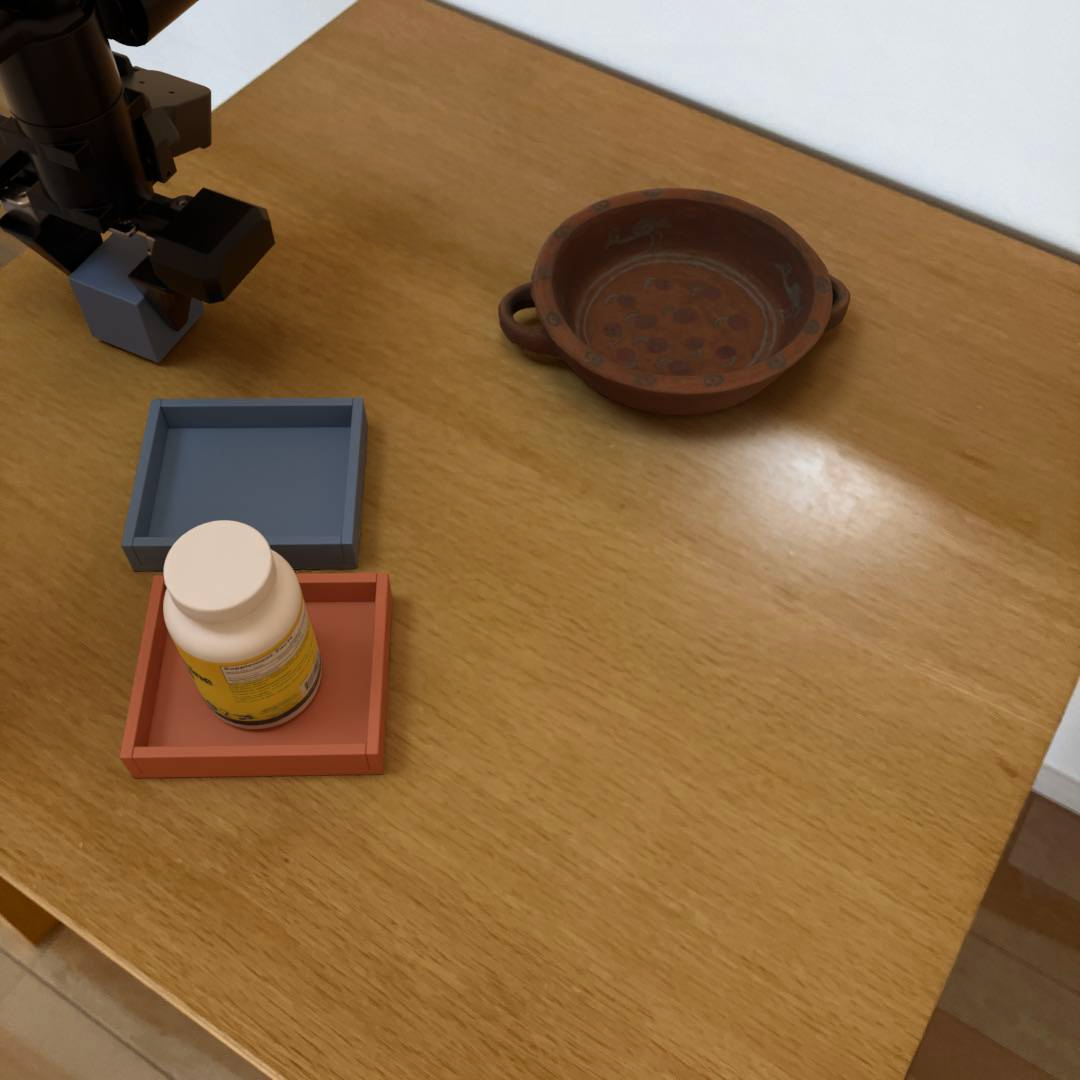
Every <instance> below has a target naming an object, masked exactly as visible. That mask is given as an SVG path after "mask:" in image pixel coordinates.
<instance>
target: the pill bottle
mask: <svg viewBox="0 0 1080 1080" xmlns="http://www.w3.org/2000/svg"><path fill="white" fill-rule="evenodd" d="M296 574H297V573H296V572H295V569H292V567H291V566H290V565H289V563H288V562H287V561H286V560H285V559H284V558H283V557H282V556H280V555H279V554H278V553H276V552H275V551H273V550H271V549H270V546H269V544H268V542H267V541H266V539H265V538H264V537H263V536H262V535H261V534H260V533H259V532H258V531H257V530H256V529H254V528H253V527H251V526H249V525H246V524H244V523H241V522H237V521H230V520H220V521H212V522H208V523H205V524H202V525H199V526H197V527H195V528H193V529H191V530H189V531H188V532H186V533H185V534H184V535H182V536H181V537H180V538H179V539H178V540H177V541H176V542H175V543H174V545H173V546H172V548H171V549H170V551H169V553H168V555H167V557H166V560H165V564H164V570H163V575H164V581H165V585H166V587H167V589H166V592H165V597H164V603H163V613H164V620H165V623H166V627H167V629H168V632H169V634H170V636H171V638H172V640H173V642H174V643H175V645H176V647H177V649H178V651H179V653H180V655H181V657H182V659H183V661H184V663H185V665H186V667H187V669H188V671H189V673H190V674H191V676H192V678H193V680H194V682H195V684H196V686H197V688H198V690H199V692H200V694H201V696H202V698H203V699H204V701H205V703H206V705H207V706H208V707H209V709H210V710H211V711H212V712H213V713H214V714H215V715H216V716H217V717H218V718H219V719H221V720H223V721H224V722H226V723H228V724H230V725H233V726H236V727H239V728H244V729H264V728H270V727H274V726H277V725H280V724H282V723H285V722H287V721H289V720H290V719H292V718H294V717H295V716H296V715H298V714H299V713H300V712H302V711H303V710H304V709H305V708H306V707H307V706H308V704H309V703H310V702H311V701H312V699H313V697H314V696H315V694H316V692H317V689H318V687H319V684H320V680H321V675H322V662H321V657H320V652H319V648H318V645H317V642H316V638H315V635H314V632H313V628H312V625H311V622H310V619H309V615H308V612H307V608H306V605H305V601H304V598H303V594H302V591H301V588H300V585H299V582H298V579H297V576H296Z"/></svg>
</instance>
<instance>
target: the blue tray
mask: <svg viewBox="0 0 1080 1080" xmlns="http://www.w3.org/2000/svg"><path fill="white" fill-rule="evenodd" d="M366 411H367V410H366V404H365V399H364V397H259V398H258V397H257V398H256V397H255V398H253V397H252V398H251V397H247V398H245V397H244V398H242V397H241V398H238V397H237V398H235V397H233V398H230V397H229V398H228V397H227V398H152V399H151V400H150V405H149V410H148V415H147V420H146V424H145V429H144V432H143V433H144V434H143V439H142V445H141V448H140V453H139V458H138V462H137V468H136V472H135V477H134V481H133V486H132V490H131V491H132V492H131V496H130V501H129V505H128V511H127V515H126V519H125V524H124V530H123V535H122V538H121V543H120V547H121V549H122V551H123V553H124V555H125V557H126V559H127V561H128V563H129V565H130V566H131V569H132V571H134V572H138V571H139V572H142V571H143V572H145V571H146V572H147V571H148V572H149V571H151V572H153V571H155V572H158V571H159V572H161V571H164V564H165V560H166V557H167V555H168V553H169V551H170V549H171V548H172V546H173V545H174V543H175V542H176V541H177V540H178V539H179V538H180V537H181V536H182V535H184V534H185V533H186V532H188V531H189V530H191V529H193V528H195V527H197V526H199V525H202V524H205V523H208V522H212V521H220V520H230V521H237V522H241V523H244V524H246V525H249V526H251V527H253V528H254V529H256V530H257V531H258V532H259V533H260V534H261V535H262V536H263V537H264V538H265V539H266V541H267V542H268V544H269V546H270V549H271V550H273V551H275V552H276V553H278V554H279V555H280V556H282V557H283V558H284V559H285V560H286V561H287V562H288V563H289V565H290V566H291V567H292V569H293V570H322V569H323V570H330V569H331V570H332V569H333V570H335V569H337V570H338V569H339V570H342V569H346V570H347V569H358V564H359V550H360V536H361V525H362V524H361V522H362V510H363V497H364V496H363V495H364V483H365V481H364V480H365V469H366V454H367V443H368V440H367V439H368V427H369V423H368V417H367V412H366Z"/></svg>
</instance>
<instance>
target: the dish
mask: <svg viewBox="0 0 1080 1080" xmlns="http://www.w3.org/2000/svg"><path fill="white" fill-rule="evenodd" d="M530 278H531V279H530V280H531V281H528V282H526V283H523V284H519V285H518V286H515V287H514V288H513V289H511V290H509V291H508V292H506V294H505V295H504V296H503V297H502V298H501V300H500V302H499V305H498V308H497V315H498V319H499V320H498V324H499V327H500V329H501V332H502V333H503V334H504V336H505V337H506V338H507V340H508V341H510V343H511V344H513V345H515V346H516V347H518V348H519V349H521V350H523V351H526V352H531V353H534V354H539V355H543V356H548V357H552V358H556V359H559V360H562V361H563V362H565V363H566V364H567V365H568V366H569V367H570V368H571V370H573V371H574V373H576V375H578V376H579V377H580V378H581V379H582V380H583V381H584V382H585V383H586V384H588V385H589V386H590V387H592V388H593V389H594V390H596V391H597V392H598V393H600V394H601V395H603V396H605V397H607V398H609V399H610V400H612V401H614V402H616V403H619V404H621V405H624V406H627V407H630V408H633V409H636V410H640V411H642V412H643V411H644V412H648V413H654V414H658V415H659V414H660V415H661V414H662V415H670V416H693V415H703V414H704V415H705V414H711V413H715V412H718V411H722V410H726V409H729V408H732V407H735V406H737V405H739V404H741V403H743V402H745V401H747V400H749V399H751V398H753V397H754V396H756V395H758V394H759V393H761V392H762V391H763V390H764V389H766V388H768V386H770V385H771V384H772V383H773V382H775V381H776V380H777V379H778V378H779V377H780V376H781V375H782V374H783V373H784V372H785V371H787V370H789V369H791V368H792V367H793V366H795V364H797V363H798V362H799V361H801V360H803V359H804V358H805V356H807V355H808V353H810V351H811V350H812V349H813V348H814V347H815V346H816V344H817V343H818V341H819V340H820V338H821V337H822V335H823V334H824V333H827V332H829V331H832V330H834V329H835V328H837V327H838V326H839V325H840V324H841V323H843V321H844V319H845V317H846V314H847V312H848V309H849V306H850V302H851V293H850V291H849V289H848V288H847V286H846V285H845V284H844V282H842V281H841V280H840V279H839V278H837V277H835V276H834V275H832V274H831V273H829V270H828V268H827V266H826V264H825V263H824V261H823V260H822V259H821V257H820V256H819V254H818V253H817V252H816V251H815V250H814V248H813V247H812V246H811V245H810V244H809V243H808V242H807V240H805V238H803V236H802V235H800V234H799V232H797V231H796V230H795V229H794V228H793V227H792V226H790V225H789V224H788V223H786V222H785V221H784V220H783V219H781V218H780V217H779V216H777V215H775V214H774V213H773V212H771V211H768V210H765V209H763V208H761V207H760V206H757V205H755V204H753V203H751V202H748V201H746V200H743V199H741V198H739V197H736V196H732V195H728V194H725V193H722V192H719V191H713V190H708V189H701V188H700V189H699V188H686V187H685V188H683V187H660V188H650V189H649V188H648V189H641V190H640V189H639V190H633V191H629V192H624V193H620V194H616V195H613V196H610V197H606V198H603V199H600V200H598V201H596V202H593V203H591V204H589V205H588V206H586V207H584V208H582V209H580V210H578V211H576V212H574V213H573V214H572V215H570V216H569V217H567V218H566V219H564V220H563V221H562V222H561V223H560V224H559V225H558V226H557V227H556V228H555V229H553V231H552V232H551V233H550V234H549V235H547V238H546V240H545V241H544V242H543V244H542V246H541V247H540V250H539V252H538V254H537V257H536V260H535V263H534V267H533V270H532V271H531V277H530ZM532 308H533V309H534V308H535V312H536V315H537V316H538V318H539V320H540V322H541V323H542V326H541V327H538V328H537V327H536V328H535V327H529V326H526V325H524V324H522V323H521V322H518V321H517V320H516V319H515V317H514V315H515V314H516V313H518V312H519V311H522V310H525V309H532Z"/></svg>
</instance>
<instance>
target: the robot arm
mask: <svg viewBox="0 0 1080 1080" xmlns="http://www.w3.org/2000/svg"><path fill="white" fill-rule="evenodd" d="M199 1H200V0H0V91H1V93H2V95H3V98H4V100H5V103H6V106H7V108H8V110H9V112H10V116H7V115H4V114H2V113H0V203H1V204H0V208H1V207H3V210H4V212H5V213H4V214H3V215H2V216H1V217H0V230H1V231H2V232H4V233H6V234H8V235H10V236H12V237H13V238H15V239H17V240H18V241H19V242H21V243H22V244H23V245H25V246H26V247H28V248H29V249H31V251H33V252H35V253H36V254H38V255H39V256H40V257H42V258H43V259H45V260H46V261H47V262H48V263H49V264H51V265H52V266H53V267H55V268H57V269H58V270H59V271H61V272H62V273H63V274H65V275H66V276H67V277H69V276H70V275H71V274H72V273H73V272H74V271H75V270H76V269H77V268H78V267H79V266H80V265H81V264H82V263H83V262H84V261H85V260H86V259H87V258H88V257H89V256H90V255H91V254H92V253H93V252H94V251H95V250H96V249H97V248H98V247H99V246H100V245H101V244H102V243H103V242H104V239H103V236H102V235H105V234H106V233H107V232H110V233H111V234H112V233H115V234H117V235H120V236H123V237H125V238H131V237H132V236H134V235H135V234H136V233H138V232H140V233H142V234H145V235H144V236H145V237H146V240H147V243H148V245H149V246H151V247H150V248H148V249H147V253H148V255H147V256H146V257H145V258H144V259H143V260H142V261H141V262H140V263H139V264H138V265H137V266H136V267H135V268H134V269H133V270H132V272H131V273H130V274H129V275H128V278H129V279H130V281H131V282H132V283H133V284H134V286H135V287H136V288H137V289H138V290H139V292H140V293H141V294H142V295H143V296H144V298H145V299H146V300H147V301H148V303H149V304H150V305H151V306H152V307H153V309H154V310H155V311H156V312H157V314H158V315H159V316H160V317H161V318H162V320H163V321H164V322H165V323H166V324H167V325H168V326H169V327H170V328H171V329H172V330H174V331H176V332H179V331H180V330H181V329H182V328H183V326H184V325H185V324H186V323H187V321H188V316H189V310H190V304H191V298H194V299H197V300H200V301H202V303H205V304H208V305H212V304H213V305H214V304H217V303H221V302H225V301H226V300H227V299H228V298H229V296H230V295H231V294H232V293H233V292H234V291H235V290H236V289H237V288H238V286H239V285H240V284H241V283H242V282H243V280H244V279H245V278H246V277H248V275H249V274H250V273H251V272H252V271H253V269H254V268H255V267H256V266H257V265H258V264H259V263H260V262H261V260H262V259H263V258H264V257H265V256H266V255H267V253H268V252H270V250H271V249H272V248H273V247H274V246H275V244H276V240H275V236H274V231H273V227H272V222H271V218H270V215H269V212H268V208H265V207H262V206H260V205H257V204H255V203H251V202H249V201H246V200H243V199H240V198H237V197H234V196H232V195H229V194H227V193H223V192H221V191H219V190H216V189H215V190H214V189H212V188H208V187H204V186H203V187H202V188H201V189H200V190H199V191H198V192H196V194H195V195H194V196H193V195H189V194H181V195H179V196H176V197H173V198H172V197H169V196H166V195H163V194H161V193H157V192H155V190H154V186H155V185H156V184H157V183H161V184H166V183H167V182H168V181H169V180H170V179H171V178H172V177H174V175H175V174H176V173H177V172H178V168H177V166H176V162H175V159H174V158H177V157H179V156H182V155H185V154H187V153H190V152H192V151H194V150H197V149H199V148H200V149H202V150H205V149H207V148H210V147H211V146H212V144H213V143H212V138H213V137H212V133H213V132H212V130H213V129H212V127H213V126H212V90H211V89H210V88H209V87H208V86H206V85H202V84H200V83H197V82H193V81H191V80H189V79H185V78H182V77H179V76H176V75H173V74H170V73H167V72H164V71H160V70H155V69H147V68H143V67H140V66H138V65H134V66H133V64H132V62H131V60H130V58H129V57H128V55H126V54H124V53H119V52H117V51H114V50H112V47H111V44H110V41H114V42H116V43H118V44H120V45H122V46H127V47H132V48H138V47H139V48H140V47H143V46H146V45H147V44H148V43H150V42H151V41H152V40H153V39H155V37H157V36H158V35H159V34H161V32H163V31H164V30H165V29H166V28H168V26H170V25H171V24H172V23H174V22H175V21H176V20H178V19H179V17H181V16H182V15H183V14H185V13H186V12H187V11H188V10H190V8H192V7H193V6H194V5H195V4H197V3H198V2H199ZM1 205H2V206H1Z"/></svg>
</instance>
